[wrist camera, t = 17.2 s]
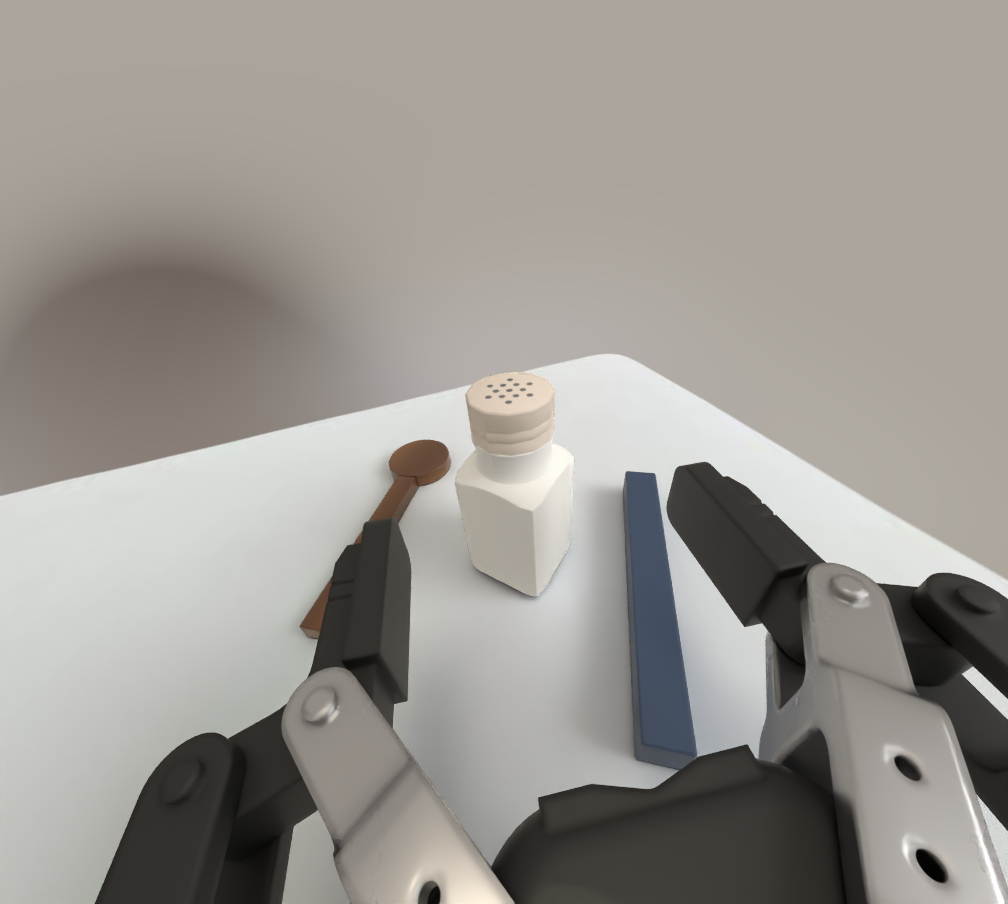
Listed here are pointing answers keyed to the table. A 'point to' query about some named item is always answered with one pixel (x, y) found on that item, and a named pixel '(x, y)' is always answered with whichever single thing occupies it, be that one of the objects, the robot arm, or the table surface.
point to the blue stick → (654, 633)
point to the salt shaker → (515, 482)
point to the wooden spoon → (394, 501)
